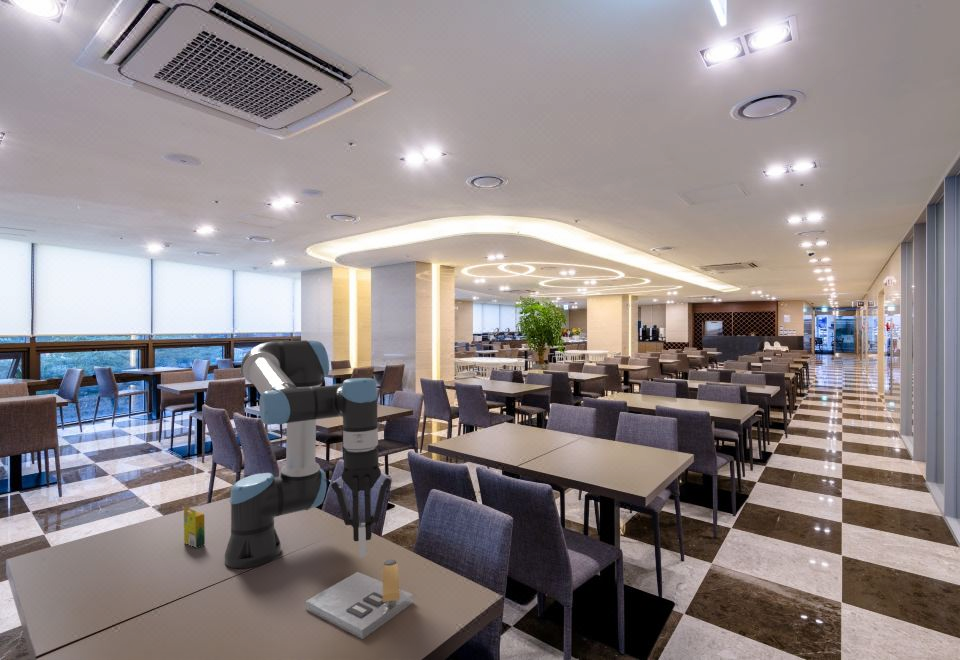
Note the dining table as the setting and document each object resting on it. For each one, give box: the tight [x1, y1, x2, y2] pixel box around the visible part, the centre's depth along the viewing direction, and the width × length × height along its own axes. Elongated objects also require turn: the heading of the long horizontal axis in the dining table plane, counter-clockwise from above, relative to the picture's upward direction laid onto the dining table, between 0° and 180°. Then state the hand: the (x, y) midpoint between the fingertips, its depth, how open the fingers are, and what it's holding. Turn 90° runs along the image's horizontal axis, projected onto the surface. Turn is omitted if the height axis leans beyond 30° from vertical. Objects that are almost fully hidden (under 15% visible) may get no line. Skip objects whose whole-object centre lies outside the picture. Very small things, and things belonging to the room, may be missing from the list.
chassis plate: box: [304, 571, 414, 640], centre depth 111 cm, size 20×16×2 cm
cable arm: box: [382, 559, 400, 602], centre depth 108 cm, size 16×4×2 cm, turn 12°
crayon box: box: [183, 506, 206, 548], centre depth 146 cm, size 7×3×12 cm, turn 58°
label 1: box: [346, 602, 373, 618], centre depth 106 cm, size 5×4×1 cm
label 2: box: [363, 592, 384, 607], centre depth 110 cm, size 5×4×1 cm
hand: (362, 554), depth 102 cm, fingers closed
